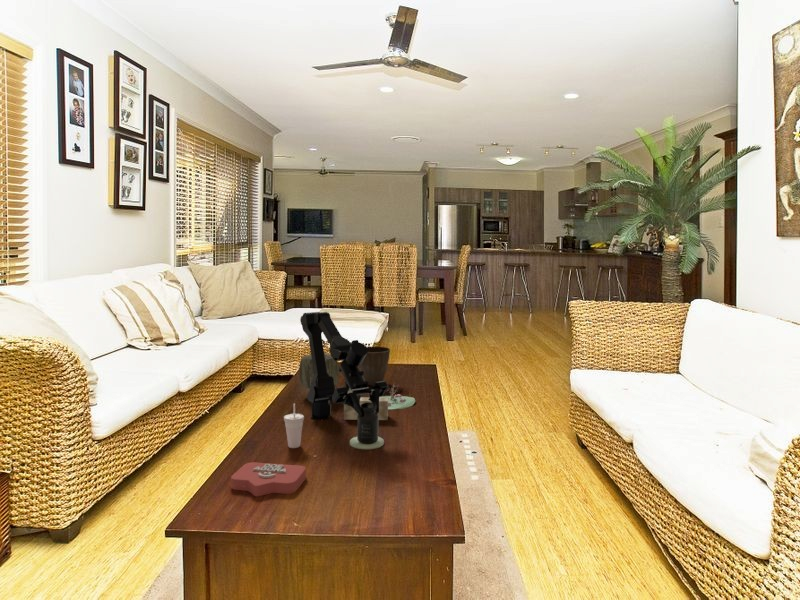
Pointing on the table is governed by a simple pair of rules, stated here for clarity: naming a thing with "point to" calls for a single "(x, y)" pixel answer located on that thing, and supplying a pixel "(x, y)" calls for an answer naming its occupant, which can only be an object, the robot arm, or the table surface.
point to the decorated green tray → (398, 400)
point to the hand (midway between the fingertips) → (370, 413)
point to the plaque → (268, 478)
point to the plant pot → (375, 364)
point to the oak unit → (383, 402)
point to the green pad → (358, 445)
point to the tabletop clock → (308, 372)
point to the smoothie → (294, 428)
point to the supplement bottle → (367, 424)
